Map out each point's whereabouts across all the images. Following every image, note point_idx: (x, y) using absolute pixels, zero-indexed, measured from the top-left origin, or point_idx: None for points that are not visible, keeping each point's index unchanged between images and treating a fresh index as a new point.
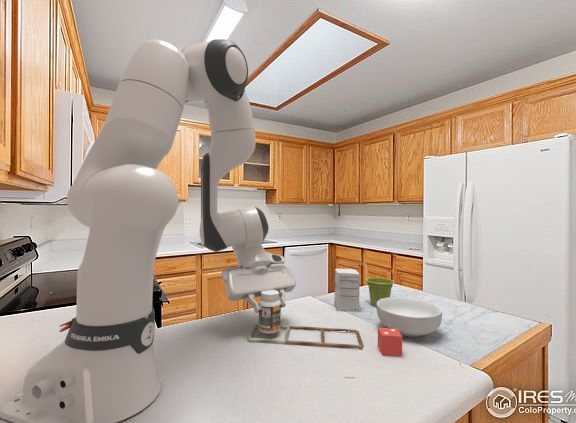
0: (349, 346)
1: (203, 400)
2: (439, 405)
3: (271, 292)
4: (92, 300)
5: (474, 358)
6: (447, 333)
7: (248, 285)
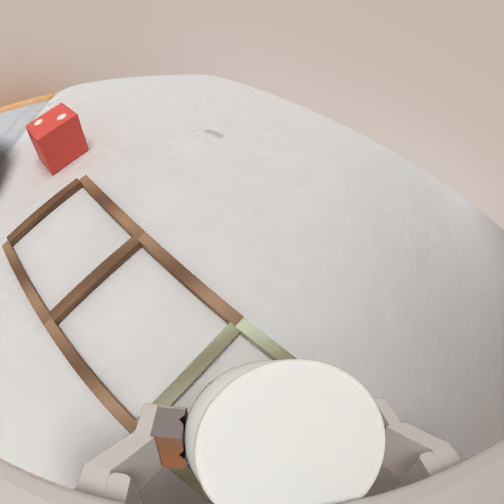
0: (102, 191)
1: (462, 220)
2: (173, 75)
3: (290, 434)
4: None
5: (26, 107)
6: None
7: (500, 494)
